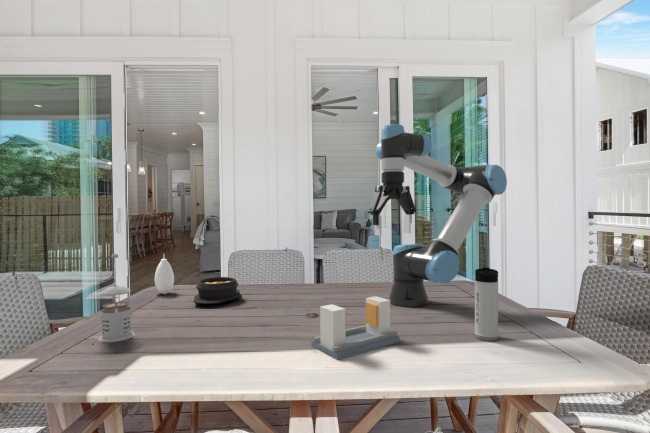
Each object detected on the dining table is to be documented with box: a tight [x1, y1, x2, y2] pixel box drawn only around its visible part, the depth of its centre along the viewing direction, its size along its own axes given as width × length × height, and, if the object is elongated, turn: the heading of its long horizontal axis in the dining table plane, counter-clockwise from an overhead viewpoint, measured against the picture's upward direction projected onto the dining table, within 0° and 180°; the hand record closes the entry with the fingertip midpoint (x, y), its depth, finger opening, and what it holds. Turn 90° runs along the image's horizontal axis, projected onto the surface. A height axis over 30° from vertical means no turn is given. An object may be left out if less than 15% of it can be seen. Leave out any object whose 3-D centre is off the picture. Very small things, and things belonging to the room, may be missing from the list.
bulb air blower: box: [154, 253, 175, 295], centre depth 176 cm, size 8×8×18 cm
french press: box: [98, 253, 136, 343], centre depth 119 cm, size 10×12×25 cm
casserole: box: [192, 276, 242, 305], centre depth 163 cm, size 25×19×8 cm
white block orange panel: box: [365, 296, 391, 336], centre depth 115 cm, size 6×5×10 cm
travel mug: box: [474, 266, 499, 342], centre depth 115 cm, size 6×7×20 cm
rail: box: [310, 304, 401, 361], centre depth 111 cm, size 12×22×12 cm, turn 124°
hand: (392, 234), depth 134 cm, fingers open, 13 cm apart
